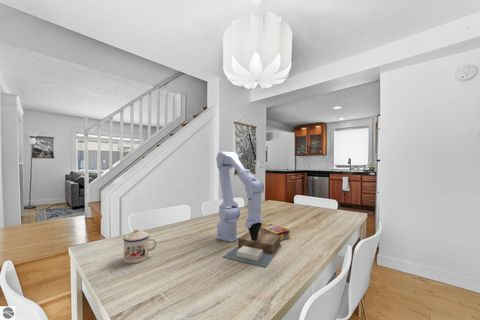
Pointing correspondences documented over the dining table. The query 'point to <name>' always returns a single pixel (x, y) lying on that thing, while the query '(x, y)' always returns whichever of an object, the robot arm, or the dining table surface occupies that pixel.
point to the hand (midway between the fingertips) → (254, 240)
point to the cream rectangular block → (250, 253)
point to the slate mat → (261, 262)
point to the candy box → (275, 230)
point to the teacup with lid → (137, 246)
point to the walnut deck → (260, 242)
